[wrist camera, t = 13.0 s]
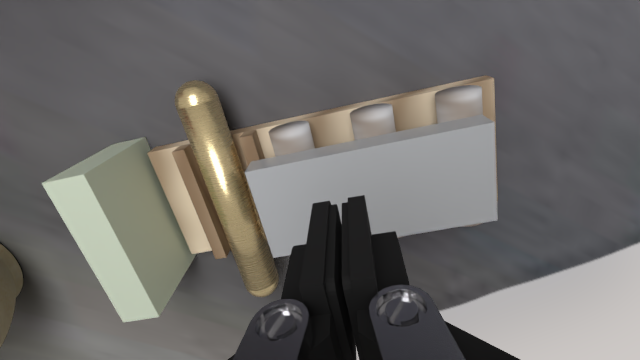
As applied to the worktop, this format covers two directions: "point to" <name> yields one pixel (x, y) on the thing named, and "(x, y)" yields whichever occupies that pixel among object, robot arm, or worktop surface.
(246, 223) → the brass roller
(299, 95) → the worktop surface
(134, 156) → the bar
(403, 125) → the roller track
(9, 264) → the planter bowl
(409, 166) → the slab
